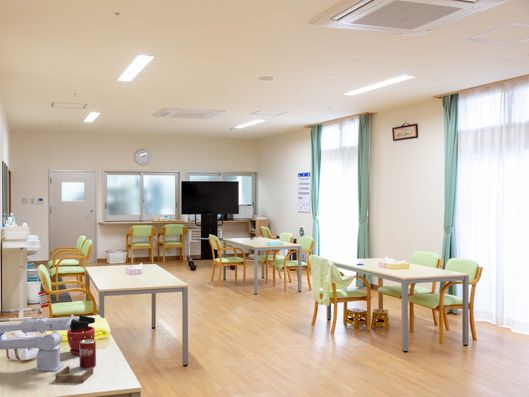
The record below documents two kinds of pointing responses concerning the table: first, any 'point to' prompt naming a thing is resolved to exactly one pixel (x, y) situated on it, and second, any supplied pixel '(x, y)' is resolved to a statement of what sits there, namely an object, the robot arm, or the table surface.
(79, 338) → the plant pot
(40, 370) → the robot arm
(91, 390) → the table surface
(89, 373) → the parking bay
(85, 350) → the soda can
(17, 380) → the table surface
